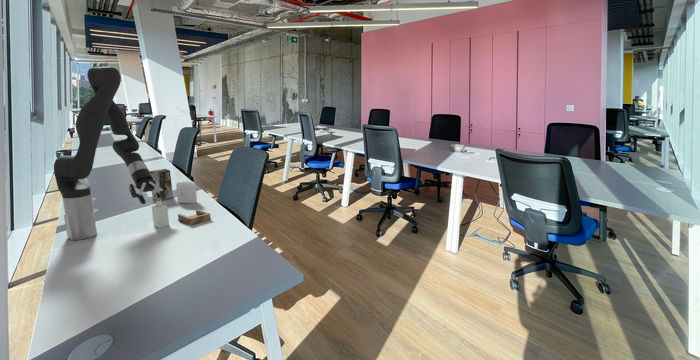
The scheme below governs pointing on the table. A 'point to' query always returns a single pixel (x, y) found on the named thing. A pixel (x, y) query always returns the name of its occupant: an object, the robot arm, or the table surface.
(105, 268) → the table surface
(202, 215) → the rest
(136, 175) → the robot arm
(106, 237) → the table surface
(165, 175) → the coffee box
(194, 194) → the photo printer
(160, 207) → the bottle
